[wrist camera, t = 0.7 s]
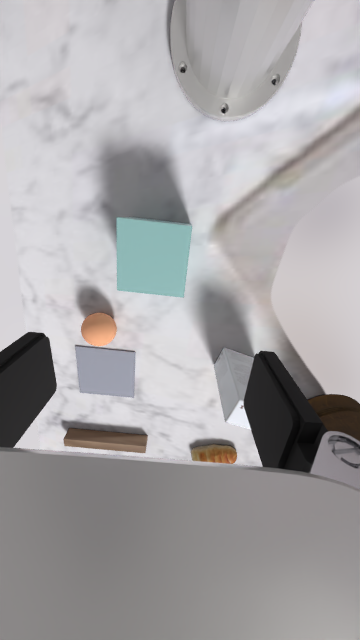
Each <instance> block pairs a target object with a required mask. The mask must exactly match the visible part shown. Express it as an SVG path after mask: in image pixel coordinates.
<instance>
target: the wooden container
mask: <svg viewBox="0 0 360 640" xmlns="http://www.w3.org/2000/svg"><path fill="white" fill-rule="evenodd" d="M308 402H309V403H310V405H311V406H312V408H313V409H314V410H315V412H316V413H317V415H318V416H319V418H320V419H321V421H322V422H323V424H324V426H325V427H326V429H327V430H328V432H329V431H337V432H341V433H345V434H347V435H349V436H352V437H353V438H355V439H357V440H358V441H360V404H359V403H358V402H357V401H356V400H354V399H352V398H350V397H348V396H344V395H335V394H329V395H321V396H317V397H314V398H311V399H309V400H308Z"/></svg>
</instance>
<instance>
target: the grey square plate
mask: <svg viewBox="0 0 360 640" xmlns="http://www.w3.org/2000/svg"><path fill="white" fill-rule="evenodd" d="M75 347H76V357H77V367H78V377H79V387H80V393H90V394H101V395H111V396H121V397H132V398H134V378H135V352H131V351H122V350H112V349H102V348H92V347H82V346H75Z"/></svg>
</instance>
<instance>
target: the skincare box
mask: <svg viewBox="0 0 360 640" xmlns="http://www.w3.org/2000/svg"><path fill="white" fill-rule="evenodd" d="M253 361H254V358H253V357H250V356H248V355H245V354H242V353H239V352H236V351H233V350H230V349H228V348H225V347H224V348H223V350H222V352H221V354H220V355H219V357H218V359H217V361H216V363H215V364H214V369H215V374H216V379H217V384H218V389H219V394H220V399H221V404H222V409H223V414H224V418H225V422H226V423H229V424H232V425H236V426H239V427H243V428H246V429H249V430H251V428H250V425H249V421H248V418H247V415H246V412H245V409H244V397H245V393H246V389H247V385H248V381H249V377H250V373H251V369H252V365H253Z"/></svg>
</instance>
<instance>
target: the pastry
mask: <svg viewBox="0 0 360 640" xmlns="http://www.w3.org/2000/svg"><path fill="white" fill-rule="evenodd" d="M191 456H192V460H193V461H201V462H213V463H226V464H233V463H235V461H236V459H237V452H236V450H235V449H234V448H233V447H231V446H229V445H217V444H212V445H206V446H199V447H195V448H193V449H192V451H191Z"/></svg>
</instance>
